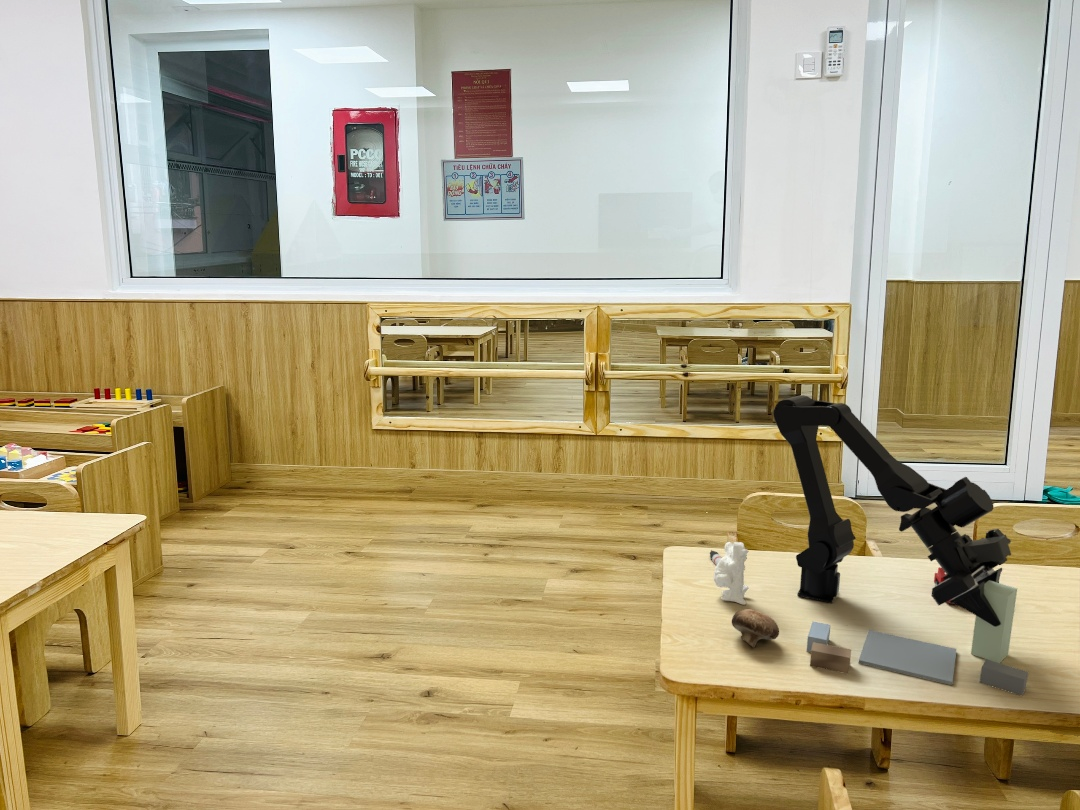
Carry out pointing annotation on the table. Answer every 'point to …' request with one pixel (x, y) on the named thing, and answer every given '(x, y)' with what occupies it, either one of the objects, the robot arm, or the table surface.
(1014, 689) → the charcoal brick
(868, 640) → the slate mat
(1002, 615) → the sage brick
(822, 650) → the walnut brick
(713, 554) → the marker
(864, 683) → the table surface
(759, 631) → the mushroom
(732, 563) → the white toy figurine
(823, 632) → the dusty blue brick
